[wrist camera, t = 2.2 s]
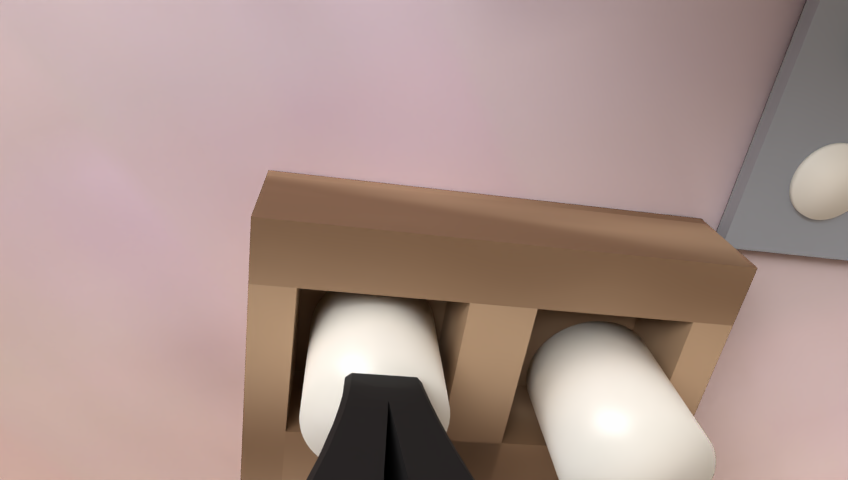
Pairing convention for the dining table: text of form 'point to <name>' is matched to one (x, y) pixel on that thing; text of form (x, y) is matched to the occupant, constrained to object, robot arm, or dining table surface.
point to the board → (473, 301)
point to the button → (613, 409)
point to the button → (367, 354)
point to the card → (799, 149)
